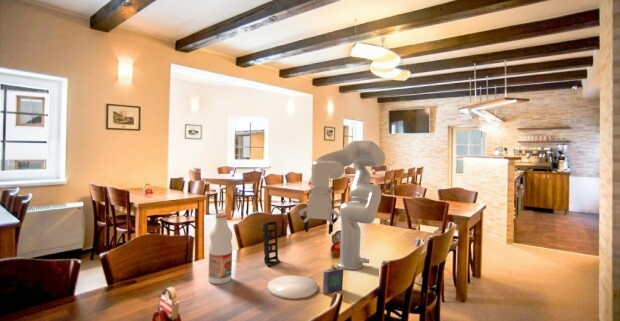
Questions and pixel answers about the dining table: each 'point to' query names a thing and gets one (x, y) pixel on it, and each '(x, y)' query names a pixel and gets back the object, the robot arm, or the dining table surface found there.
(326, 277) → the flask
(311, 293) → the plate
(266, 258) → the holder
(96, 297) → the dining table surface
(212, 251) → the fruit juice
